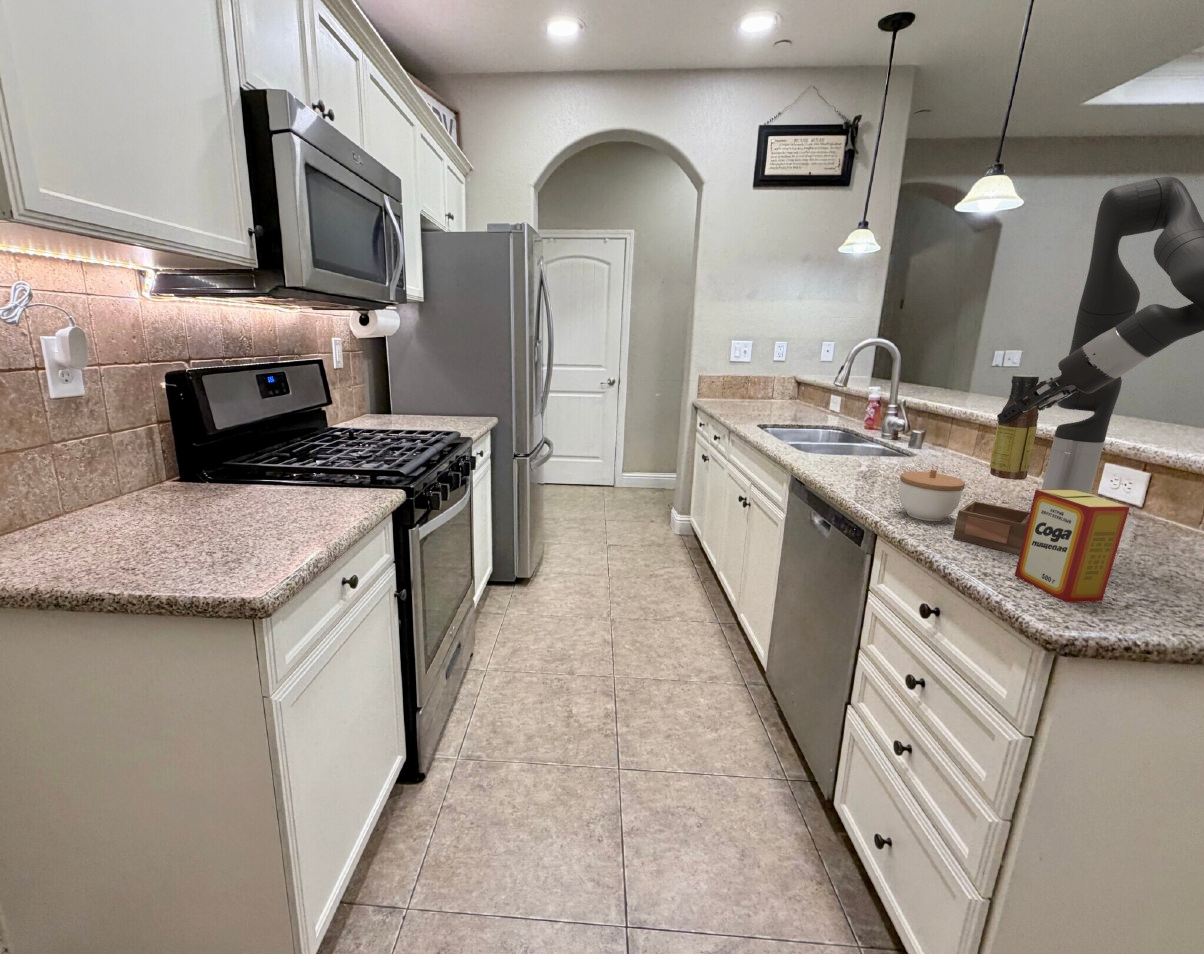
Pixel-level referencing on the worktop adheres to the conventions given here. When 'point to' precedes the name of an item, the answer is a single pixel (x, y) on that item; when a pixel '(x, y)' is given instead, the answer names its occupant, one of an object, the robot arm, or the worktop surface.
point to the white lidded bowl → (929, 494)
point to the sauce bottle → (1015, 435)
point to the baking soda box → (1071, 544)
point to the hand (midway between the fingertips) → (1008, 419)
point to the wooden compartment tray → (992, 526)
